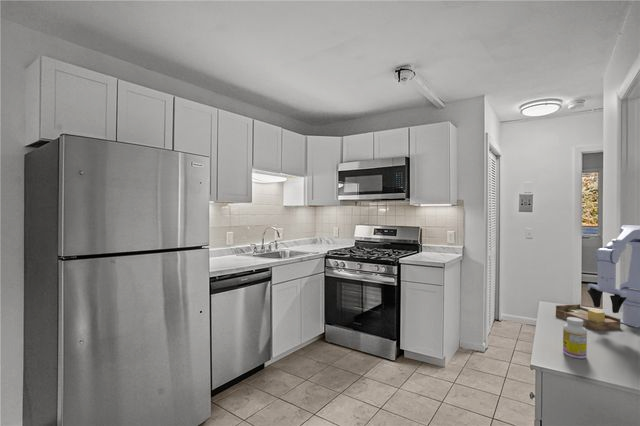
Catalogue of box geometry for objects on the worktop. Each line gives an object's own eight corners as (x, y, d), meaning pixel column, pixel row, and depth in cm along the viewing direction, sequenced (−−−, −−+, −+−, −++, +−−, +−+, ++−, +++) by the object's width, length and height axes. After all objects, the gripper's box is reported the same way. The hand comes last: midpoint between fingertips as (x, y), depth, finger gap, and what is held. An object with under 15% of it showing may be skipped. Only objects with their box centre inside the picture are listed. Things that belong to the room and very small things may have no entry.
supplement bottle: (563, 349, 122) (564, 314, 122) (586, 354, 118) (587, 318, 118) (562, 355, 117) (562, 319, 117) (586, 361, 113) (586, 323, 113)
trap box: (578, 314, 162) (578, 303, 161) (620, 328, 143) (620, 316, 143) (555, 315, 159) (555, 305, 159) (595, 330, 141) (595, 318, 140)
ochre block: (595, 318, 147) (595, 309, 146) (604, 321, 143) (604, 312, 142) (587, 319, 146) (587, 310, 146) (596, 322, 142) (596, 312, 142)
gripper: (581, 274, 145) (581, 305, 145) (616, 281, 130) (616, 316, 131) (595, 273, 146) (595, 304, 146) (631, 280, 131) (631, 314, 132)
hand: (606, 309), depth 138 cm, fingers open, 7 cm apart
